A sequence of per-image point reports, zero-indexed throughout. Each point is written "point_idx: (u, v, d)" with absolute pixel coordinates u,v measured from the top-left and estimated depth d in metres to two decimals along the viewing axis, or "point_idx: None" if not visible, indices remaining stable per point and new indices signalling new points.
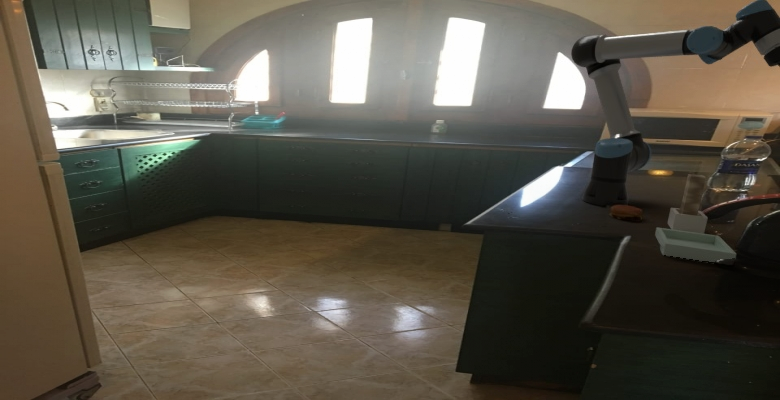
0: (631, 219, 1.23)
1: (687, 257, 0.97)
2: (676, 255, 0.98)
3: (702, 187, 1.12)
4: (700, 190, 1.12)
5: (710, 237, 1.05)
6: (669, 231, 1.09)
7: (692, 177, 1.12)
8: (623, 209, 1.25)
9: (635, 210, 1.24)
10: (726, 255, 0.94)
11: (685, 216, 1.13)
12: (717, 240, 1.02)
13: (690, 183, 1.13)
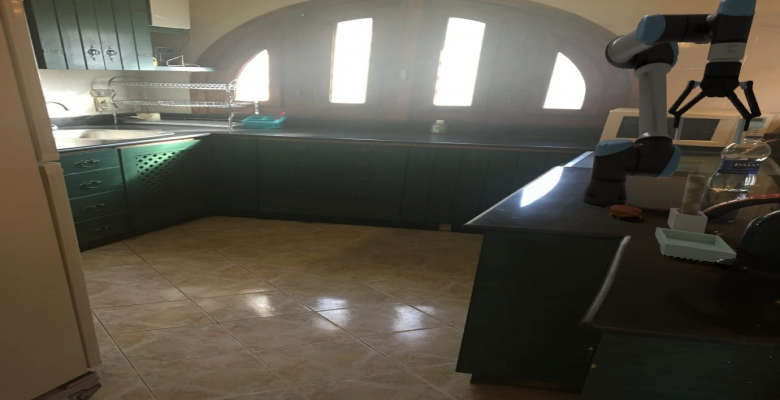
0: (631, 219, 1.23)
1: (687, 257, 0.97)
2: (676, 255, 0.98)
3: (702, 187, 1.12)
4: (700, 190, 1.12)
5: (710, 237, 1.05)
6: (669, 231, 1.09)
7: (692, 177, 1.12)
8: (623, 209, 1.25)
9: (635, 210, 1.24)
10: (726, 255, 0.94)
11: (685, 216, 1.13)
12: (717, 240, 1.02)
13: (690, 183, 1.13)
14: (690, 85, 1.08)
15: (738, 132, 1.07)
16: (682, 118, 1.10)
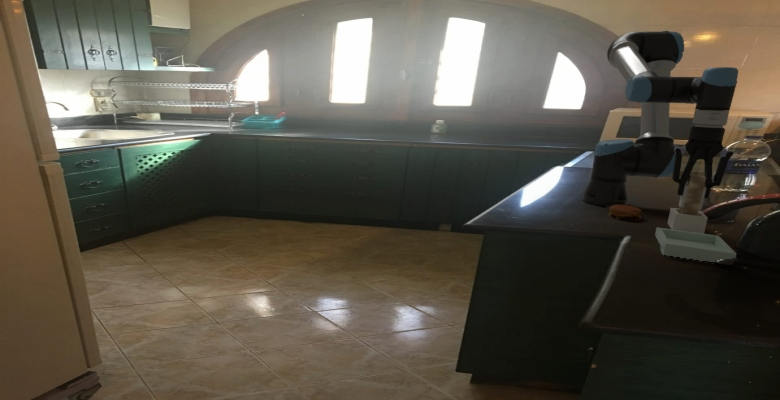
0: (630, 219, 1.23)
1: (687, 257, 0.97)
2: (676, 255, 0.98)
3: (702, 187, 1.12)
4: (700, 190, 1.12)
5: (710, 237, 1.05)
6: (669, 231, 1.09)
7: (692, 177, 1.12)
8: (622, 209, 1.25)
9: (634, 210, 1.24)
10: (726, 255, 0.94)
11: (685, 216, 1.13)
12: (717, 240, 1.02)
13: (690, 183, 1.13)
14: (677, 153, 1.13)
15: None
16: (686, 187, 1.14)
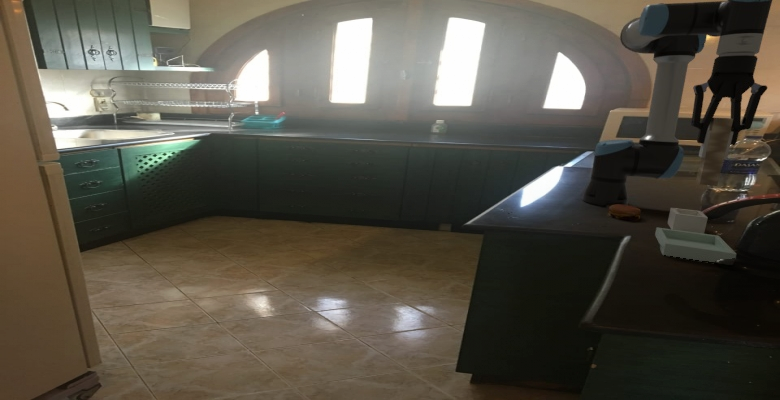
0: (629, 218, 1.24)
1: (687, 257, 0.97)
2: (676, 255, 0.98)
3: (728, 131, 0.92)
4: (726, 135, 0.93)
5: (710, 237, 1.05)
6: (669, 231, 1.09)
7: (716, 119, 0.93)
8: (621, 208, 1.25)
9: (633, 209, 1.24)
10: (726, 255, 0.94)
11: (685, 216, 1.13)
12: (717, 240, 1.02)
13: (714, 127, 0.93)
14: (698, 91, 0.93)
15: None
16: (709, 132, 0.94)
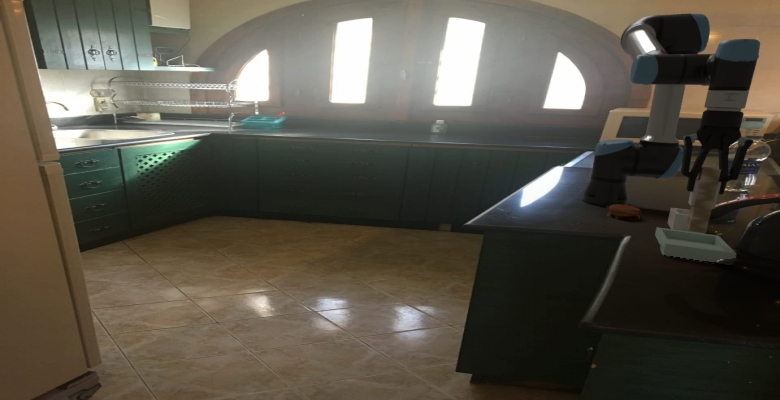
0: (629, 218, 1.24)
1: (687, 257, 0.97)
2: (676, 255, 0.98)
3: (716, 181, 0.95)
4: (714, 185, 0.96)
5: (710, 237, 1.05)
6: (669, 231, 1.09)
7: (704, 170, 0.96)
8: (621, 208, 1.25)
9: (633, 209, 1.25)
10: (726, 255, 0.94)
11: (685, 216, 1.13)
12: (717, 240, 1.02)
13: (702, 177, 0.96)
14: (687, 142, 0.97)
15: None
16: (697, 181, 0.97)
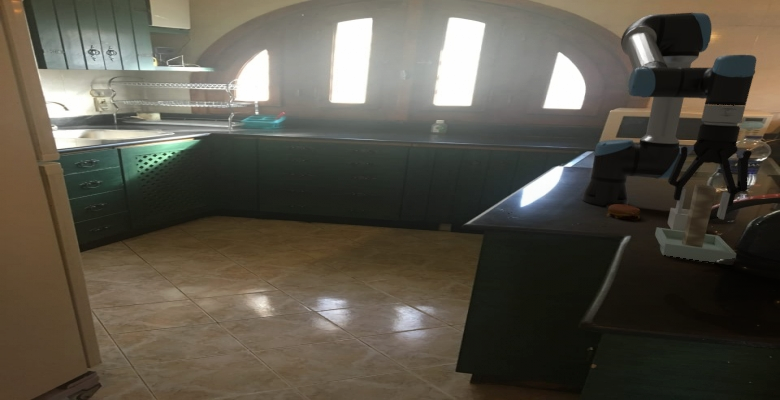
0: (628, 218, 1.24)
1: (687, 257, 0.97)
2: (676, 255, 0.98)
3: (712, 200, 0.97)
4: (709, 203, 0.97)
5: (710, 237, 1.05)
6: (669, 231, 1.09)
7: (700, 188, 0.97)
8: (621, 208, 1.25)
9: (633, 209, 1.25)
10: (726, 255, 0.94)
11: (685, 216, 1.13)
12: (717, 240, 1.02)
13: (698, 195, 0.98)
14: (683, 152, 0.97)
15: (722, 206, 0.97)
16: (684, 190, 0.99)
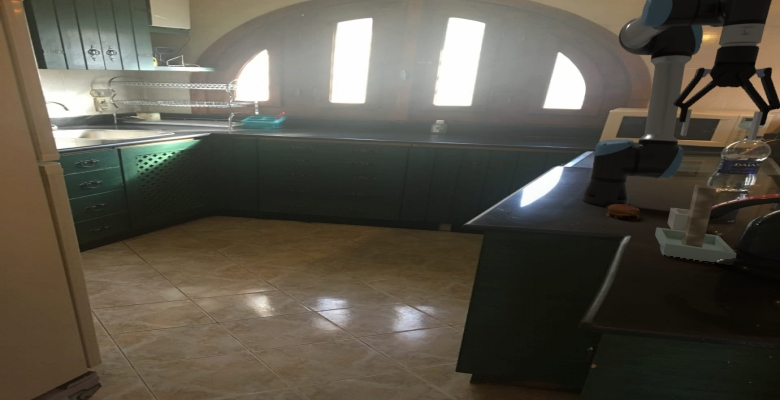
0: (628, 218, 1.24)
1: (687, 257, 0.97)
2: (676, 255, 0.98)
3: (712, 200, 0.97)
4: (709, 203, 0.97)
5: (710, 237, 1.05)
6: (669, 231, 1.09)
7: (700, 188, 0.97)
8: (620, 208, 1.26)
9: (632, 209, 1.25)
10: (726, 255, 0.94)
11: (685, 216, 1.13)
12: (717, 240, 1.02)
13: (698, 195, 0.98)
14: (699, 73, 0.95)
15: (754, 126, 0.94)
16: (689, 111, 0.98)
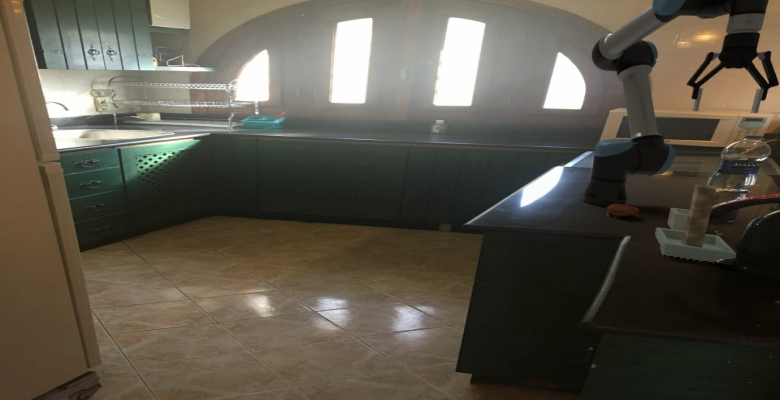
0: (627, 218, 1.24)
1: (687, 257, 0.97)
2: (676, 255, 0.98)
3: (712, 200, 0.97)
4: (709, 203, 0.97)
5: (710, 237, 1.05)
6: (669, 231, 1.09)
7: (700, 188, 0.97)
8: (620, 208, 1.26)
9: (632, 209, 1.25)
10: (726, 255, 0.94)
11: (685, 216, 1.13)
12: (717, 240, 1.02)
13: (698, 195, 0.98)
14: (709, 57, 1.12)
15: (756, 102, 1.10)
16: (701, 89, 1.14)
